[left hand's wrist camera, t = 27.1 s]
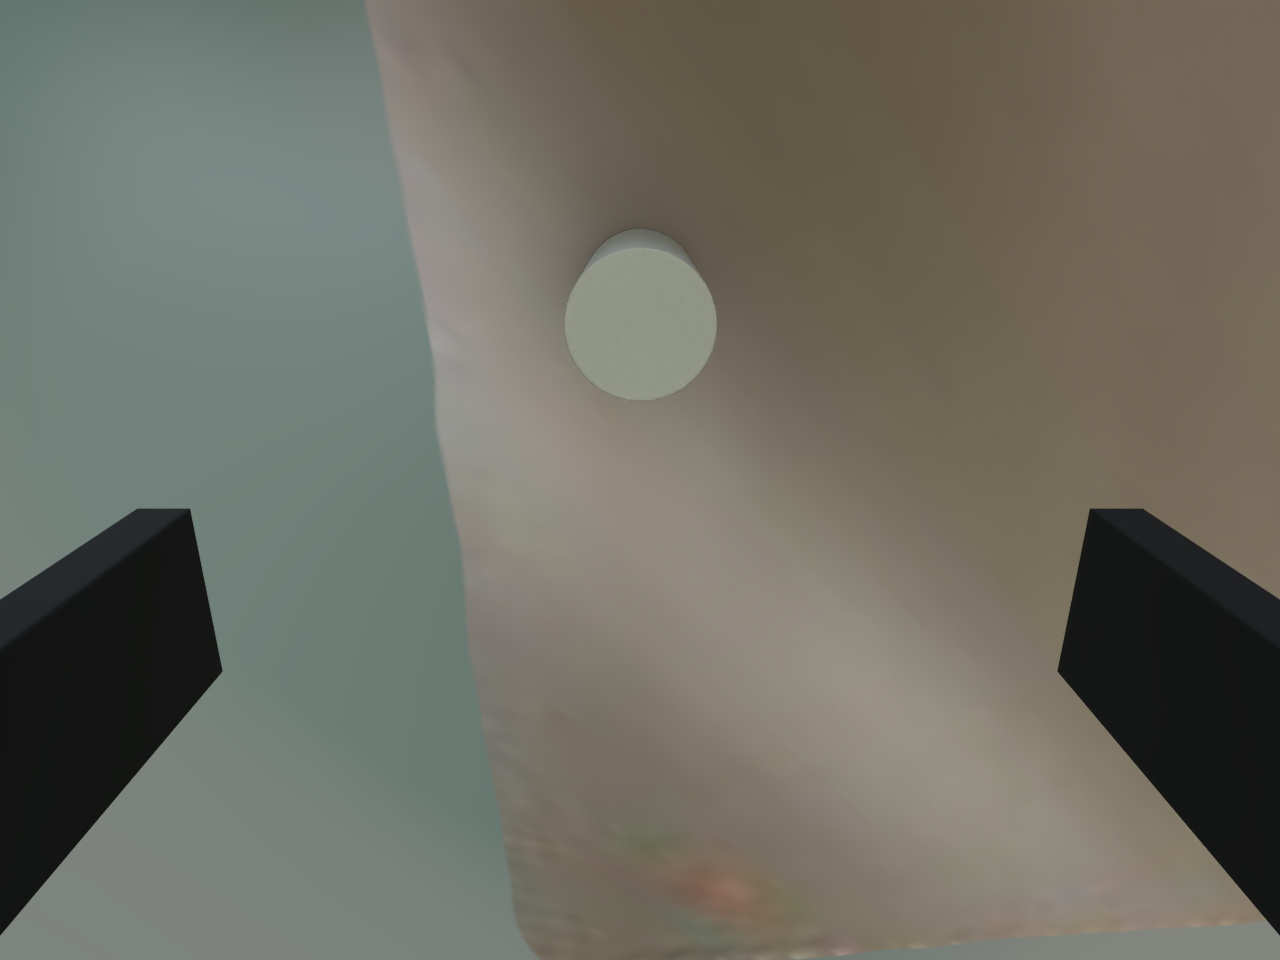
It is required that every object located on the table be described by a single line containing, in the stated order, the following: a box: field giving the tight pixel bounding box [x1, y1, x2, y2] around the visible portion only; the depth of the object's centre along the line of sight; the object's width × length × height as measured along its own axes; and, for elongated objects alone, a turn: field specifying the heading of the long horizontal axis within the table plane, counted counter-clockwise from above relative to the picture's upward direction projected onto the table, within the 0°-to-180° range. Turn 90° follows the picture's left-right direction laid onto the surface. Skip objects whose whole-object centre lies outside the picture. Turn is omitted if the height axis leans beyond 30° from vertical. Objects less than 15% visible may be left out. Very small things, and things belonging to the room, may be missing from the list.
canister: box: [564, 229, 717, 401], centre depth 40 cm, size 6×6×13 cm
